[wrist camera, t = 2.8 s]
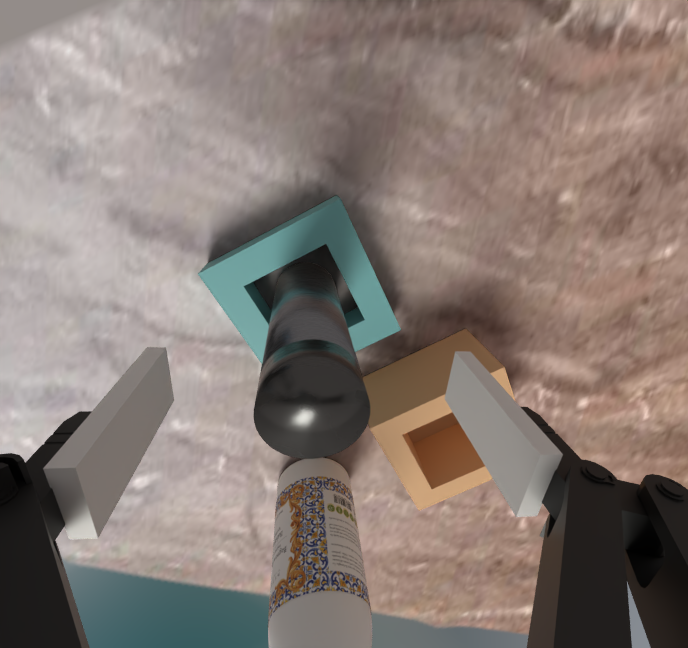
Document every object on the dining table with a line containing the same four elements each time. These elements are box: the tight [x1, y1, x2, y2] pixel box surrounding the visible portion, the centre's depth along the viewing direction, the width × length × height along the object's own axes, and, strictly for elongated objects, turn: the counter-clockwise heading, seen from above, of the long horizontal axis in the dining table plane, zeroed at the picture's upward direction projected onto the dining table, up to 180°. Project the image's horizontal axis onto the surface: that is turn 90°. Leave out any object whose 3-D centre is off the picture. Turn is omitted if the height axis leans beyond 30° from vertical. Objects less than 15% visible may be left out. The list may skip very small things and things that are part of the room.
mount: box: [198, 195, 401, 363], centre depth 25 cm, size 10×10×2 cm
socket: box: [363, 329, 516, 511], centre depth 29 cm, size 10×10×6 cm
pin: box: [254, 262, 370, 459], centre depth 20 cm, size 4×4×14 cm
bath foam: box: [268, 457, 372, 648], centre depth 25 cm, size 7×7×20 cm
